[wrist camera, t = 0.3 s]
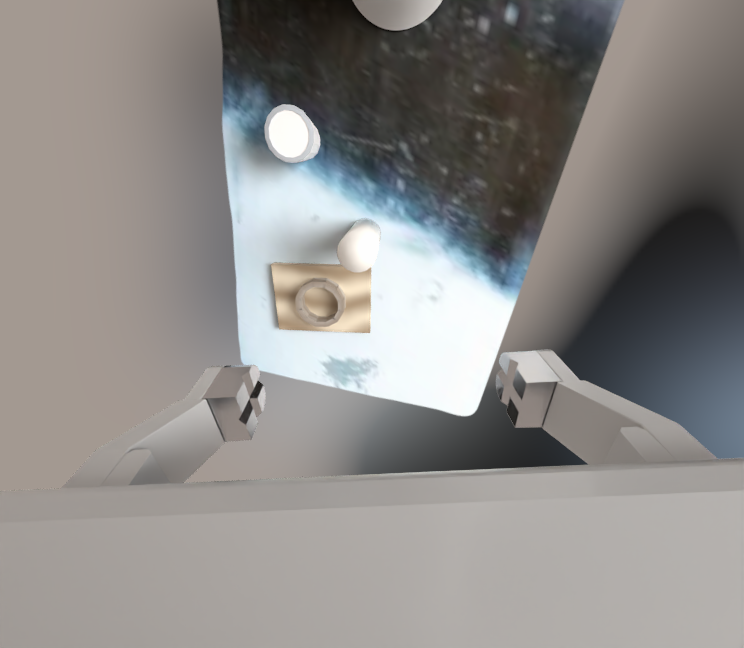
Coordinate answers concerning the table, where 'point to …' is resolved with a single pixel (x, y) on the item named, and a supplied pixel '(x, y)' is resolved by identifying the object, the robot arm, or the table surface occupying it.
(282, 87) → the table surface
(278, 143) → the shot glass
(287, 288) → the roll holder
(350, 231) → the paper roll
